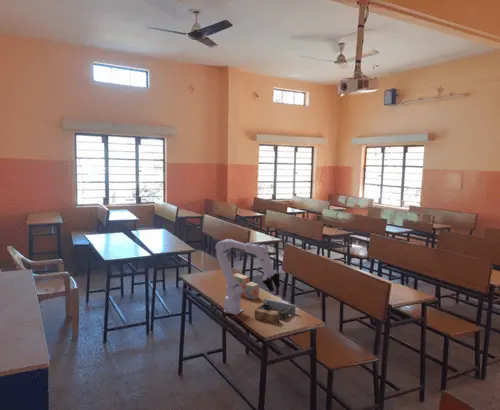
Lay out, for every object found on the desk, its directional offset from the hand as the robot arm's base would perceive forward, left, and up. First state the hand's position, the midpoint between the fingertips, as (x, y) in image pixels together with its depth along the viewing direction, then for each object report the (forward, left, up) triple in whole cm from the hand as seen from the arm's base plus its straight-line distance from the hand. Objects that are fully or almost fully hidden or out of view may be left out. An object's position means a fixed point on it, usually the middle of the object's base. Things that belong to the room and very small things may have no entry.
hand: (275, 289), depth 216 cm
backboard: (-5, +14, -19) cm, 25 cm away
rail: (-5, 0, -19) cm, 20 cm away
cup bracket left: (-11, +9, -19) cm, 24 cm away
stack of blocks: (-37, +28, -20) cm, 50 cm away
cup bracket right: (+1, +9, -19) cm, 21 cm away
